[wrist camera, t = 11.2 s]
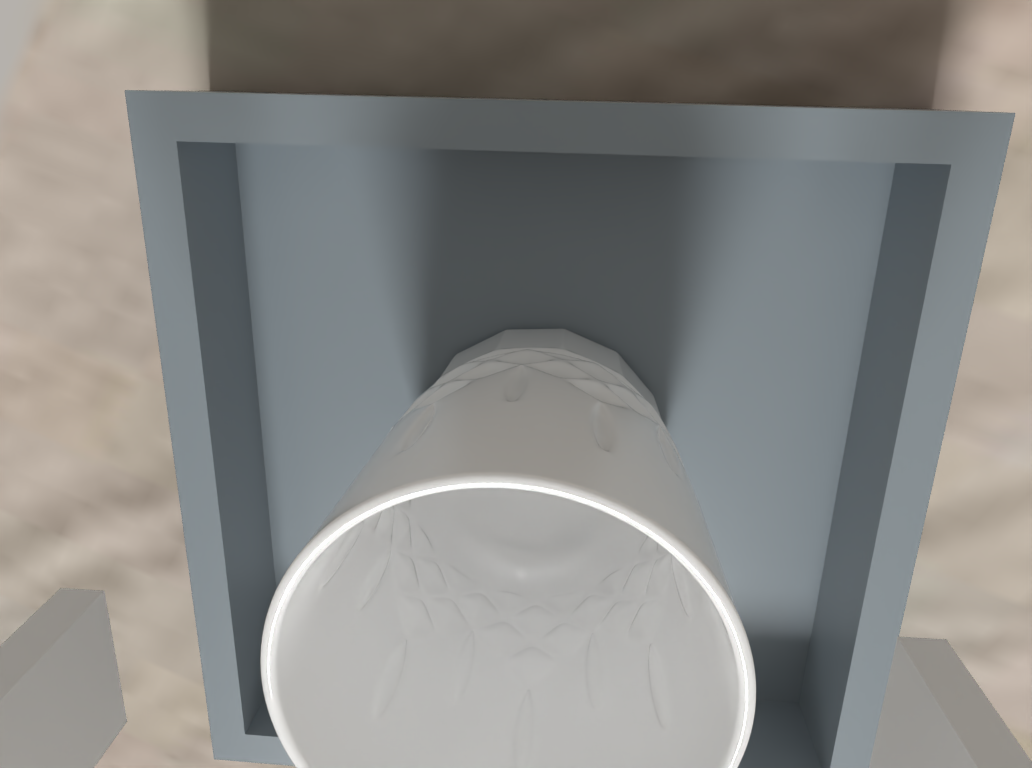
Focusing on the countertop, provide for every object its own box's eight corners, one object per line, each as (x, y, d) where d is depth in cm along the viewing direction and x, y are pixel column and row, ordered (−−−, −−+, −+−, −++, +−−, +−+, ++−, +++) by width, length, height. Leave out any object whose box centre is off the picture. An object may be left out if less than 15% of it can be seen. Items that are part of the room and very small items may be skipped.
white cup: (566, 613, 24) (550, 948, 15) (345, 463, 23) (175, 720, 13) (746, 420, 21) (868, 675, 12) (507, 241, 20) (437, 368, 11)
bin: (266, 665, 27) (214, 759, 23) (208, 91, 21) (124, 90, 17) (819, 708, 25) (859, 814, 22) (932, 109, 19) (1014, 112, 16)
